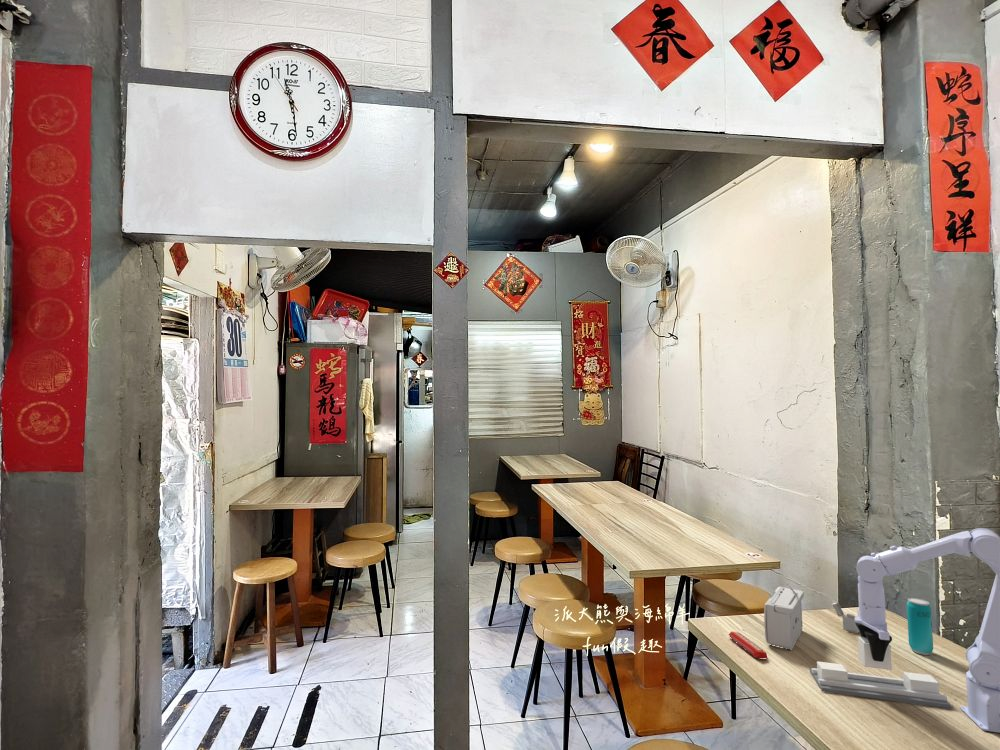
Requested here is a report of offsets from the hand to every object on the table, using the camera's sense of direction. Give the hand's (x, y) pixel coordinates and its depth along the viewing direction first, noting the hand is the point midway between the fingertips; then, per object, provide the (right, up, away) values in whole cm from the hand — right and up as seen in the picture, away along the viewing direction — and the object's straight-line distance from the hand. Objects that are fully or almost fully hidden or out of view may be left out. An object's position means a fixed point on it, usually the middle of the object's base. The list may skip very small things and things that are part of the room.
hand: (874, 656), depth 134 cm
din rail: (0, -8, -1) cm, 8 cm away
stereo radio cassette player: (-7, -11, +30) cm, 32 cm away
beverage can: (+29, -10, +20) cm, 37 cm away
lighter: (+17, -11, +36) cm, 41 cm away
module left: (-10, -9, +2) cm, 13 cm away
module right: (+10, -8, -3) cm, 13 cm away
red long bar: (-23, -11, +22) cm, 33 cm away
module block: (0, -2, 0) cm, 2 cm away
